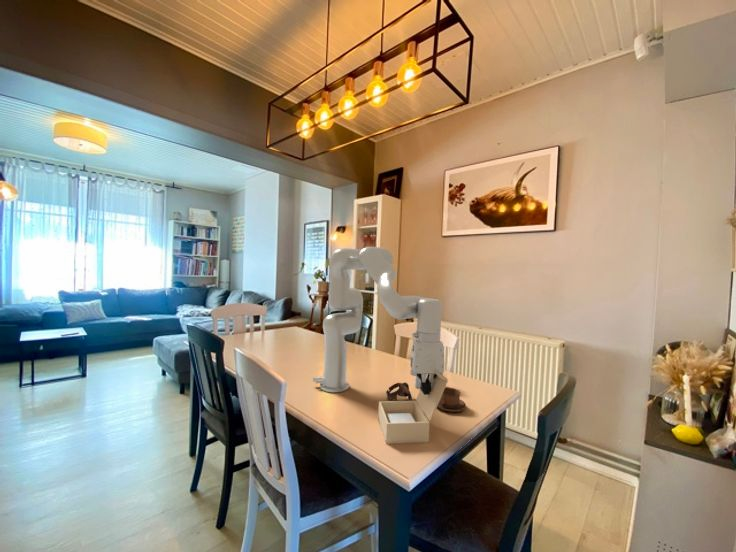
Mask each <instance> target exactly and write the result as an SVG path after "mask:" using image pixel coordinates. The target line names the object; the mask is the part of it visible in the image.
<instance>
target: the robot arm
mask: <svg viewBox="0 0 736 552" xmlns="http://www.w3.org/2000/svg"><path fill="white" fill-rule="evenodd" d="M393 262H394V257H393V254H392V252H391V251H390V250H389V249H388V248H385V247H380V246H379V247H378V246H366V247H364V248H362V249H357V248H338V249H336V250H334V251H333V252H332V254H331V255H330V258H329V262H328V268H329V270H328V271H329V278H330V279H329V286H328V287H329V288H328V299H327V300H328V302H327V303H328V306H329V309H331V310H332V311H337V313H332V314H328V315H327V316H325V318H323V321H322V330H323V333H324V334H323V336H324V357H323V359H324V361H323V362H324V363H323V375H322V376H319V377H318V376H314V377H313V378H312V382H313V383H315V384H319V388H320V390H322V391H324V392H327V393H341V392H345V391H348V390H349V389H350V383H349V382H348V381H347V357H348V355H347V354H348V346H347V342H346V340H345V338H344V336H346V335H351V334H356V333H358V331H360V328H361V325H362V318H363V309H364V297H363V294H362V292H361V290H359V289H357V288H354V287H350V285H351V278H350V274H349V272H348V271H347V270H355V271H358V270H359V271H366V272H367V274H368V275H369V276H370V278H372V280H373V281H374V282H375V284H376V285H377V287H376V289H377V297H378V301H379V302H380V304H381V306H383V308H384V309H385V310H386V312H387V314H389V316H391V317H393V318H394V319H396V320H406V319H407V320H408V319H414V318H415V319H416V318H417V320H416V321H417V322H416V330H415V332H412V333H411V336H412V338H415V339H414V341H413V344H412V350H411V357H410V370H409V372H410V375H411V376H413V377H415V376H417V377H418V378H419V379H420V380H421V388H420V389H421V391H422V392H423V394H424V395H426V394H427V395H429V393H430V391H431V382H433V380H434V379H435V378H436V377H437V375H436V374H435V372H438V373H441V374H443V375H444V371H445V351H444V349H445V348H444V343H443V341H442V340H441V329H442V328H441V327H442V312H443V311H442V308H443V304H442V301H441V300H440V299H436V298H431V297H423V296H419V295H403V296H402V295H400V294H399V293H398V292H397V290H396V289H395V288H394V286H393V285H392V284H393V283H394V281H395V280H396V278H397V276H398V275H397V274H398V273H397V271H396V269H395V268H394V267H393V266H392V265H393ZM339 311H340V312H339ZM341 311H345V312H341ZM425 374H427V378H425Z"/></svg>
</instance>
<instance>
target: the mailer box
mask: <svg viewBox="0 0 736 552" xmlns="http://www.w3.org/2000/svg"><path fill="white" fill-rule="evenodd" d="M377 417H378V418H377V420H378V422H379V425H380V428H381V429H380V430H381V432H382V436H383V438H384V441H385V444H386V445H388V444H389V445H391V444H392V445H394V444H397V445H398V444H415V443H417V444H418V443H419V444H420V443H421V444H422V443H430V422H431V421H429V419H428V418H427V416H426V415H425V413H424V411H423V410H422V408H421V407H420V405H419V404H418V402H417V401H416V400H412V401H409V400H397V401H396V400H387V401H378V416H377Z"/></svg>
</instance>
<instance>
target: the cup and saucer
mask: <svg viewBox="0 0 736 552" xmlns="http://www.w3.org/2000/svg"><path fill="white" fill-rule="evenodd" d="M460 395H461V392H460V390H458V389H457V388H456V389H455V388H452V387H445V389H444V391H443V394H442V396H441V398H440V401H439V403H438V406H437V408H438V409H440V410H442V411H445V412H451V413H457V412H462V411H464V410H465V409H466V406H467V405H466V402H465V401H463V400H462V399H461V396H460Z"/></svg>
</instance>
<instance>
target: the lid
mask: <svg viewBox="0 0 736 552" xmlns="http://www.w3.org/2000/svg"><path fill="white" fill-rule="evenodd" d="M435 374H436V375H437V377H436V378H435V379H434V380H433V382H431V391H430V393H429V395H427V394H426V395H424V394H423V392H422V391H421V388H419V391H418V393H417V396H416V399H415V401H416V402H417V404H418V405H419V407H420V408H421V410H422V411H423V413H424V415H425V416H426V418H427V419H428V421H429V422H432V419H433V417H434V415H435V413H436V410H437V408H438V407H437V406H438V403H439V401H440V398H441V396H442V394H443V391H444V389H445V388H447V385H448V384H447V383H448V382H449V379H448V378H447V377H446V376H445V375H444V373H443V374H441V373H438V372H435ZM425 378H427V375H426V377H425Z"/></svg>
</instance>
